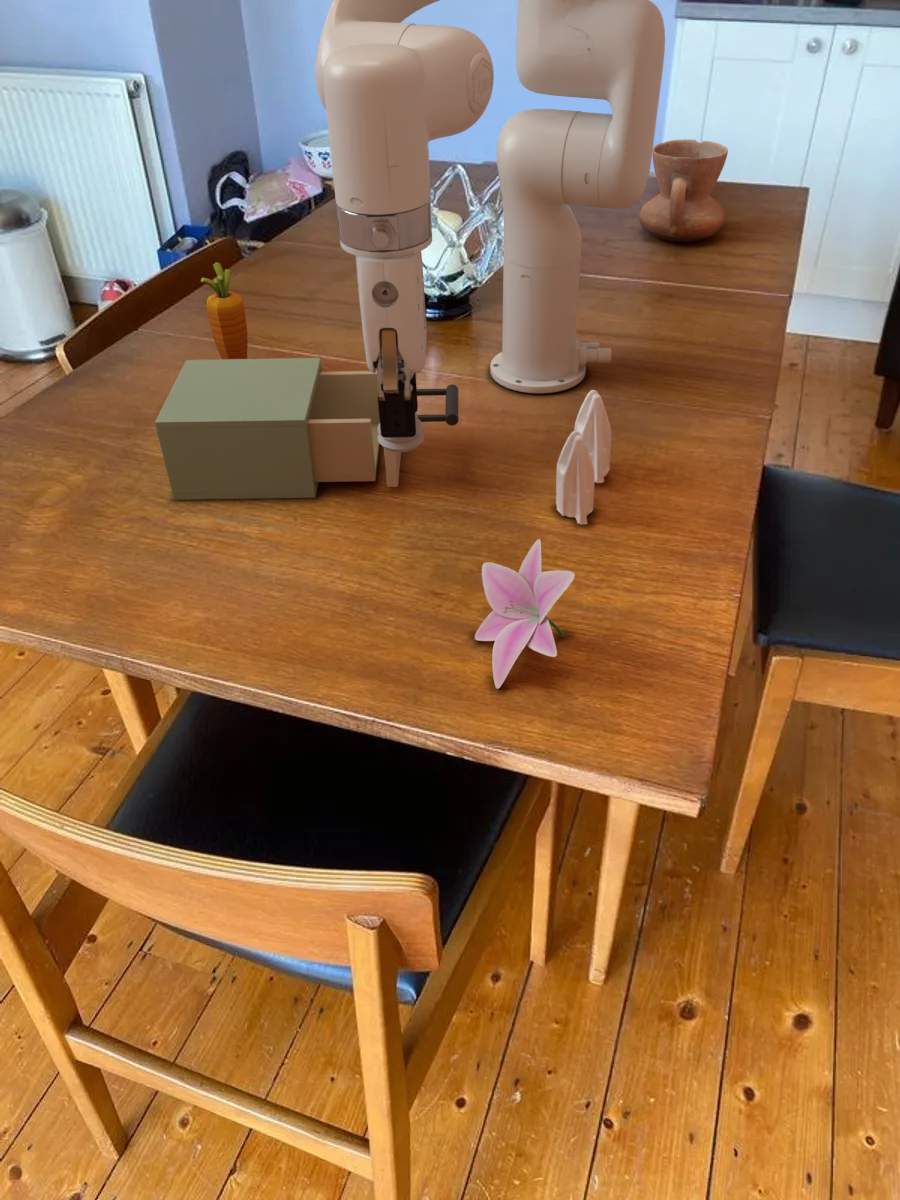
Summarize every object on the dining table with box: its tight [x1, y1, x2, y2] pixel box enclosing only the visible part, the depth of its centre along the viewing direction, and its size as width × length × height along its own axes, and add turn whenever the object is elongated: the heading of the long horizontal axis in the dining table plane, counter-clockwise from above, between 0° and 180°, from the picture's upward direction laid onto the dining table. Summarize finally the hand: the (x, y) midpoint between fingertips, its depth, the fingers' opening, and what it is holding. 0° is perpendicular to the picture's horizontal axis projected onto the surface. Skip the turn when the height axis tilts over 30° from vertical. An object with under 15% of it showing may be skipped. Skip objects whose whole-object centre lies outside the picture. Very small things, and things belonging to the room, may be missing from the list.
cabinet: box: [154, 357, 323, 501], centre depth 105 cm, size 16×15×10 cm
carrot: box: [200, 262, 249, 359], centre depth 120 cm, size 5×5×15 cm
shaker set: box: [555, 389, 612, 526], centre depth 99 cm, size 12×4×11 cm, turn 159°
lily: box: [474, 538, 576, 690], centre depth 81 cm, size 12×12×10 cm
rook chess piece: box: [377, 360, 425, 453], centre depth 86 cm, size 4×4×8 cm
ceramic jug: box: [638, 138, 729, 243], centre depth 159 cm, size 18×14×14 cm
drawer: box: [307, 370, 459, 488], centre depth 105 cm, size 21×13×8 cm, turn 90°
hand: (399, 421), depth 87 cm, fingers closed on rook chess piece, 3 cm apart
